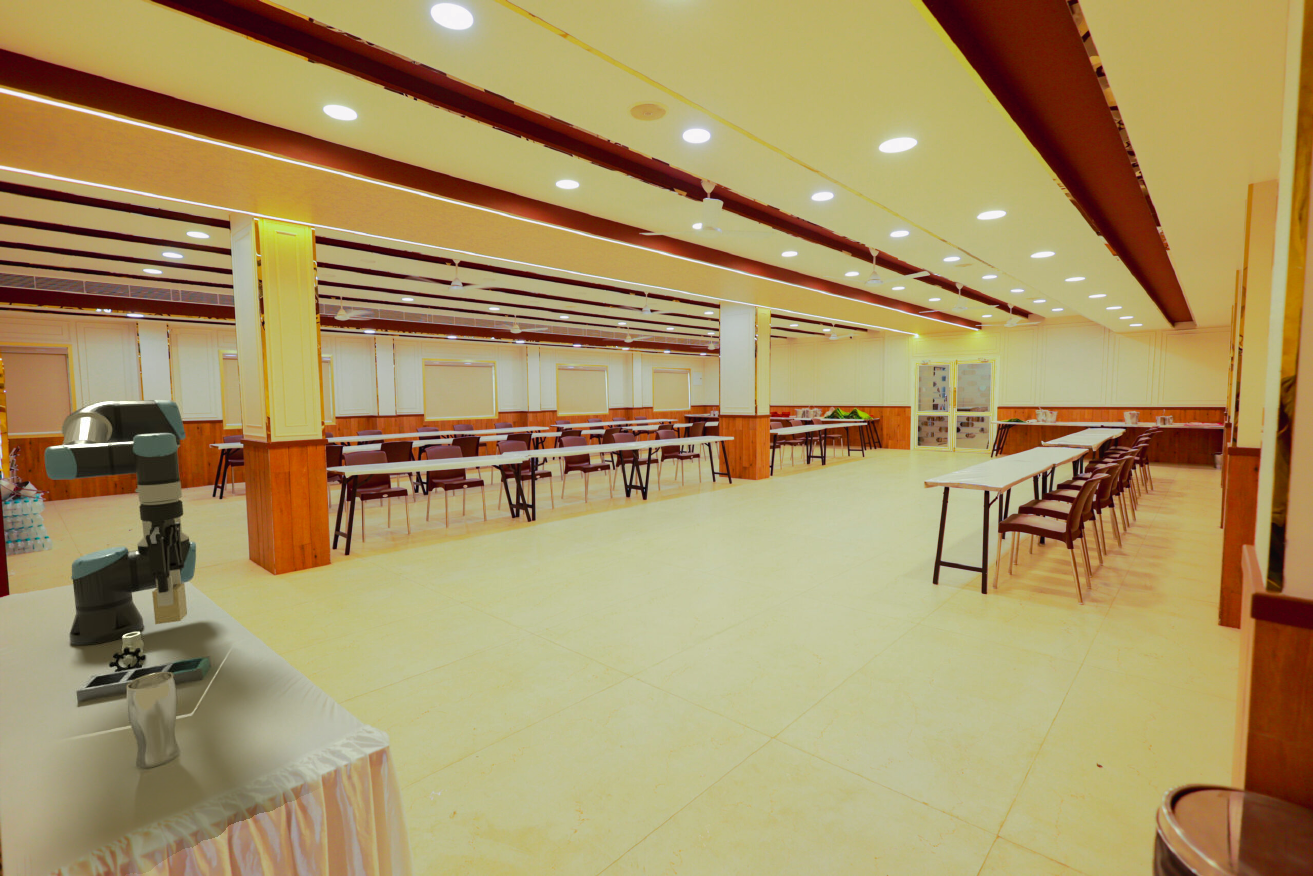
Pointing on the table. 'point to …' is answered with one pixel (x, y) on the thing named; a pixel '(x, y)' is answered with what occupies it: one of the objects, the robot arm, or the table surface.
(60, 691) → the table surface
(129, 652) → the valve
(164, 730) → the beer glass
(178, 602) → the hollow square tube
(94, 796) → the table surface
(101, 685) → the divided tray
